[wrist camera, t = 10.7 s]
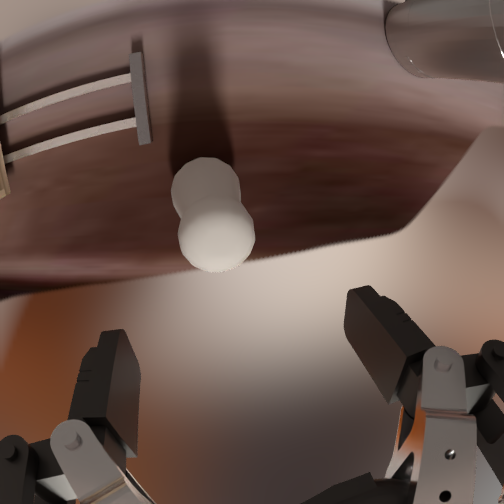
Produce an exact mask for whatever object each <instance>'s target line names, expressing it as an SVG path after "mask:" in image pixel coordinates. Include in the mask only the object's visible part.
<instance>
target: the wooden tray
mask: <svg viewBox="0 0 504 504" xmlns="http://www.w3.org/2000/svg"><path fill="white" fill-rule="evenodd" d="M9 193H11V191H10V187H9V183H8V178H7V174H6V169H5V165H4V160H3V154H2V149H1V143H0V199H2V198H3V197H5V196H6V195H8V194H9Z"/></svg>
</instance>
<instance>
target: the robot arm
mask: <svg viewBox="0 0 504 504" xmlns="http://www.w3.org/2000/svg"><path fill="white" fill-rule="evenodd" d="M385 28H386V37H387V40H388V44H389V46H390V49H391V51H392V53H393V54H394V56H395V58H396V59H397V61H398V62H399V63H400V64H401V65H402V67H404V68H405V69H406V70H407V71H408V72H410V73H412V74H413V75H415V76H418V77H421V78H446V79H461V80H474V81H485V82H494V83H502V84H504V0H405V2H404V3H401V4H398V5H396V6H394V7H393V8H392V9H391V10H390V12H389V13H388V16H387V19H386V26H385ZM344 330H345V335H346V337H347V339H348V341H349V343H350V344H351V346H352V347H353V349H354V350H355V352H356V353H357V355H358V357H359V358H360V360H361V361H362V363H363V365H364V366H365V368H366V369H367V371H368V372H369V374H370V375H371V377H372V379H373V380H374V382H375V384H376V385H377V387H378V389H379V390H380V392H381V393H382V395H383V397H384V398H385V400H386V402H387V403H388V404H392V403H394V402H397V401H399V400H400V401H401V403H402V405H403V406H402V408H401V412H400V419H399V425H398V431H397V437H396V442H395V448H394V453H393V456H392V460H391V462H390V464H389V467H388V469H387V472H386V475H385V478H384V479H373V478H372V476H371V473H370V472H369V473H366V474H364V475H361V476H358V477H356V478H353V479H351V480H348V481H345V482H342V483H339V484H336V485H334V486H332V487H330V488H328V489H326V490H325V491H323V492H321V493H320V494H318V495H316V496H314V497H312V498H311V499H309V500H307V501H305V502H303V503H301V504H473V497H474V487H475V474H476V451H477V446H478V447H479V449H480V450H481V452H482V454H483V455H484V457H485V458H486V460H487V462H488V463H489V465H490V466H491V468H492V470H493V471H494V473H495V475H496V476H497V478H498V480H499V482H500V483H501V485H502V487H503V488H502V495H501V496H500V497H499V499H498V503H499V504H504V414H503V413H502V411H501V410H500V408H499V407H498V406H497V404H496V403H495V402H494V400H493V399H492V398H493V396H494V395H495V393H497V394H498V396H499V397H500V398H501V399H502V401H503V402H504V342H502V341H499V340H489V341H487V342H485V343H484V344H483V346H482V348H481V350H480V352H479V353H477V354H470V355H463V356H460V355H459V353H457V352H456V351H455V350H453V349H451V348H449V347H445V346H435V345H434V344H433V343H432V341H431V340H430V339H429V338H428V337H427V336H426V335H425V334H424V332H423V331H422V330H421V329H420V328H419V327H418V326H417V324H416V323H415V322H414V321H413V320H411V318H410V317H409V316H408V315H407V314H406V313H405V312H404V310H403V309H402V308H401V307H400V306H399V305H398V304H397V303H396V302H395V301H393V300H391V299H389V298H387V297H386V296H381V297H380V295H378V293H377V292H376V291H375V290H374V289H373V288H372V287H371V286H369V285H368V286H363V287H359V288H354V289H350V290H349V291H348V293H347V301H346V309H345V318H344ZM79 371H80V373H79V374H78V377H77V383H76V385H75V390H74V394H73V398H72V402H71V407H70V412H69V417H68V420H67V421H65V422H62V423H61V424H60V425H58V426H57V427H56V428H55V430H54V431H53V433H52V435H51V438H50V439H46V440H42V441H39V442H35V443H31V444H28V443H27V442H26V441H25V440H24V439H23V438H22V437H20V436H18V435H10V436H7V437H5V438H4V439H2V440H1V441H0V504H75V503H76V498H78V499H79V501H80V504H156V503H155V502H154V501H153V500H152V498H151V497H150V496H149V495H148V494H147V493H146V492H145V490H144V489H143V488H142V487H141V486H140V485H139V483H138V482H137V481H136V480H135V478H134V477H133V476H132V475H131V473H130V472H129V471H128V470H127V469H126V457H137V443H138V441H137V440H138V414H139V413H138V412H139V394H140V380H141V373H140V367H139V363H138V360H137V358H136V356H135V353H134V351H133V349H132V346H131V344H130V342H129V339H128V337H127V334H126V332H125V331H124V330H123V329H118V330H110V331H103V332H101V335H100V339H99V342H98V346H97V347H92V348H90V349H89V351H88V352H87V353H86V355H85V356H84V357H83V359H82V363H81V366H80V370H79ZM34 494H35V497H34Z"/></svg>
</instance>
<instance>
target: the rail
mask: <svg viewBox="0 0 504 504" xmlns="http://www.w3.org/2000/svg"><path fill="white" fill-rule="evenodd" d="M129 62H130V73H129V74H124V75H120V76H115V77H111V78H107V79H103V80H100V81H96V82H92V83H89V84H85V85H82V86H78V87H75V88H72V89H69V90H66V91H62V92H59V93H56V94H54V95H51V96H48V97H45V98H42V99H40V100H37V101H34V102H32V103H29V104H27V105H24V106H22V107H19V108H17V109H14V110H12V111H10V112H7V113H5V114H3V115H1V116H0V125H1V124H3V123H6V122H8V121H10V120H13V119H15V118H18V117H20V116H23V115H25V114H28V113H30V112H33V111H36V110H38V109H41V108H44V107H47V106H50V105H53V104H56V103H59V102H62V101H65V100H68V99H71V98H74V97H78V96H81V95H85V94H88V93H92V92H95V91H99V90H103V89H107V88H111V87H115V86H119V85H124V84H128V83H131V84H132V93H133V102H134V110H135V118H130V119H125V120H121V121H116V122H112V123H108V124H104V125H100V126H96V127H92V128H88V129H84V130H81V131H77V132H73V133H70V134H67V135H63V136H60V137H57V138H53V139H50V140H47V141H44V142H41V143H38V144H35V145H32V146H29V147H27V148H24V149H21V150H18V151H16V152H13V153H10V154H8V155H5V156H3V160H4V164H6V163H9V162H12V161H14V160H17V159H20V158H23V157H26V156H28V155H31V154H34V153H37V152H40V151H44V150H47V149H50V148H53V147H56V146H60V145H63V144H67V143H70V142H74V141H77V140H81V139H85V138H88V137H92V136H96V135H100V134H104V133H109V132H113V131H117V130H122V129H126V128H131V127H136V126H137V133H138V140H139V145H142V144H148V143H151V142H152V141H153V137H152V130H151V123H150V115H149V106H148V98H147V89H146V79H145V68H144V57H143V54H142V53H141V52H137V53H132V54H129Z"/></svg>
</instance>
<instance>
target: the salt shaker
mask: <svg viewBox="0 0 504 504" xmlns="http://www.w3.org/2000/svg"><path fill="white" fill-rule="evenodd" d="M171 194H172V200H173V205H174V207H175V209H176V211H177V212H178V214H179V216H180V218H181V222H180V226H179V230H178V238H179V243H180V247H181V251H182V253H183V255H184V256H185V257H186V258H187V259H188V260H189V262H190V263H191V264H192V265H193V266H195V267H197V268H199V269H202V270H204V271H206V272H225V271H227V270H230V269H232V268H235V267H237V266H239V265H240V264H241V263H242V262H243V261H244V260H245V259H246V258H247V257H248V256H249V255H250V253H251V250H252V247H253V245H254V242H255V233H254V226H253V220H252V218H251V217H250V215H249V214H248V212H247V211H246V209H245V208H244V206H243V205H242V204H241V203H240V198H241V193H240V185H239V178H238V177H237V175H236V174H235V172H234V171H233V169H232V168H231V166H230V165H228V164H226V163H224V162H222V161H221V160H219V159H217V158H205V157H200V158H197V159H195V160H193V161H190V162H188V163H186V164H185V165H184V166H183V167H182V168H181V169H180V170H179V171H178V173H177V174H176V175H175V176H174V180H173V184H172V188H171Z"/></svg>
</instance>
